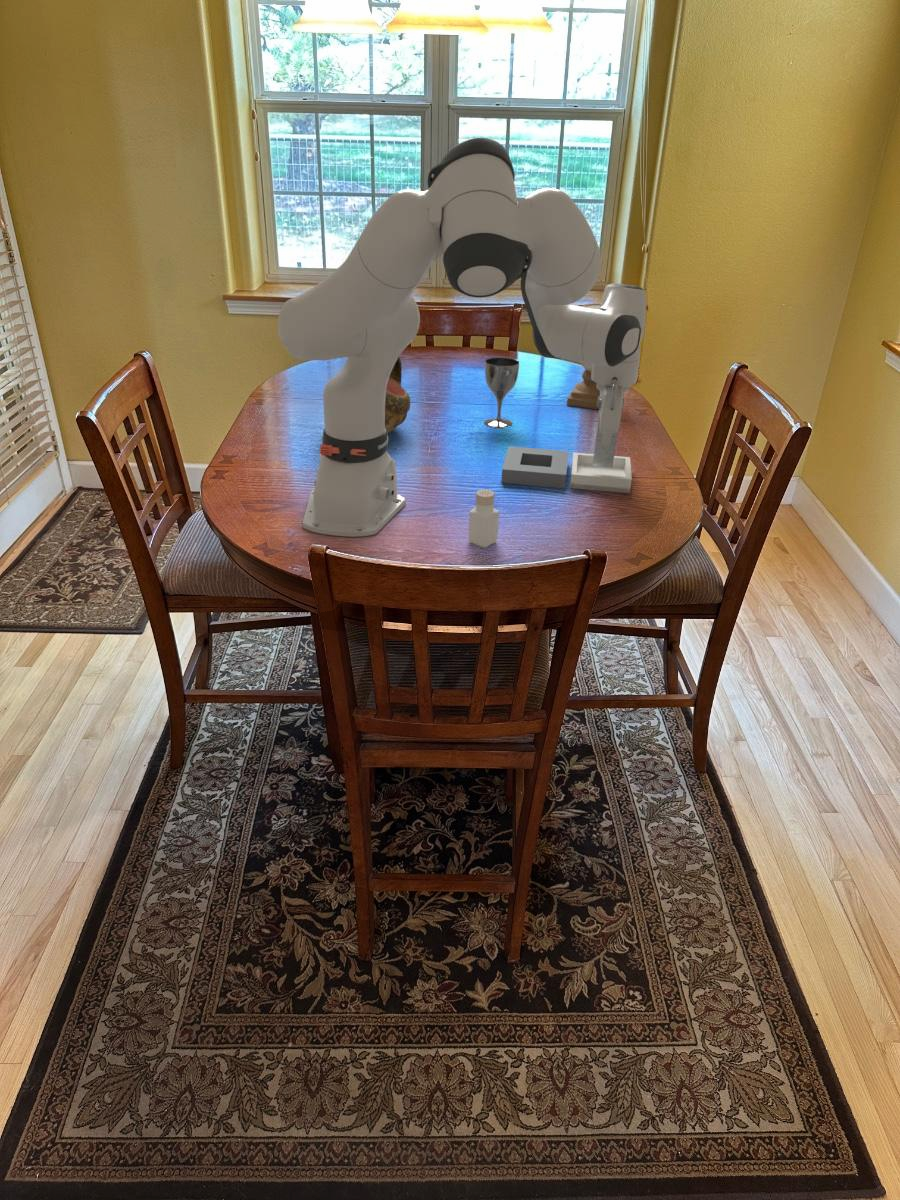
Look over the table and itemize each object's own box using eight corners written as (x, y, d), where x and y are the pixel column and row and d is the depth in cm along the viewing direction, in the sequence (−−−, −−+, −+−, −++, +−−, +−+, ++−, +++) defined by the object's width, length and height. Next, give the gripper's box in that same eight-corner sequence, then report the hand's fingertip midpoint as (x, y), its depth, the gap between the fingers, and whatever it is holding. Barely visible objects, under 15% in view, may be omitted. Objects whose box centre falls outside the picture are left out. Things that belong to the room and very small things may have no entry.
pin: (615, 469, 163) (624, 404, 156) (589, 466, 164) (597, 402, 156) (615, 459, 167) (624, 396, 160) (590, 457, 168) (598, 394, 161)
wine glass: (504, 431, 190) (509, 368, 182) (476, 424, 194) (478, 362, 186) (520, 422, 196) (525, 360, 188) (492, 415, 200) (495, 354, 192)
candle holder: (608, 410, 205) (621, 314, 192) (565, 405, 208) (576, 309, 195) (614, 398, 214) (627, 305, 201) (574, 393, 217) (584, 300, 204)
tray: (629, 493, 162) (631, 479, 160) (569, 487, 163) (571, 474, 162) (628, 470, 172) (630, 457, 170) (571, 465, 173) (573, 452, 172)
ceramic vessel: (312, 449, 178) (304, 333, 164) (360, 413, 198) (357, 308, 185) (383, 460, 173) (381, 343, 160) (425, 422, 194) (426, 315, 181)
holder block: (564, 488, 163) (566, 474, 161) (501, 482, 165) (502, 469, 163) (567, 464, 174) (568, 451, 172) (507, 459, 176) (508, 446, 174)
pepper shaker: (484, 549, 140) (486, 500, 135) (466, 542, 142) (468, 493, 137) (498, 542, 143) (501, 493, 138) (481, 534, 145) (483, 486, 140)
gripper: (632, 388, 146) (622, 459, 154) (629, 358, 164) (620, 424, 171) (597, 385, 147) (588, 456, 154) (598, 356, 164) (590, 421, 172)
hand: (605, 439), depth 163 cm, fingers closed on pin, 4 cm apart
